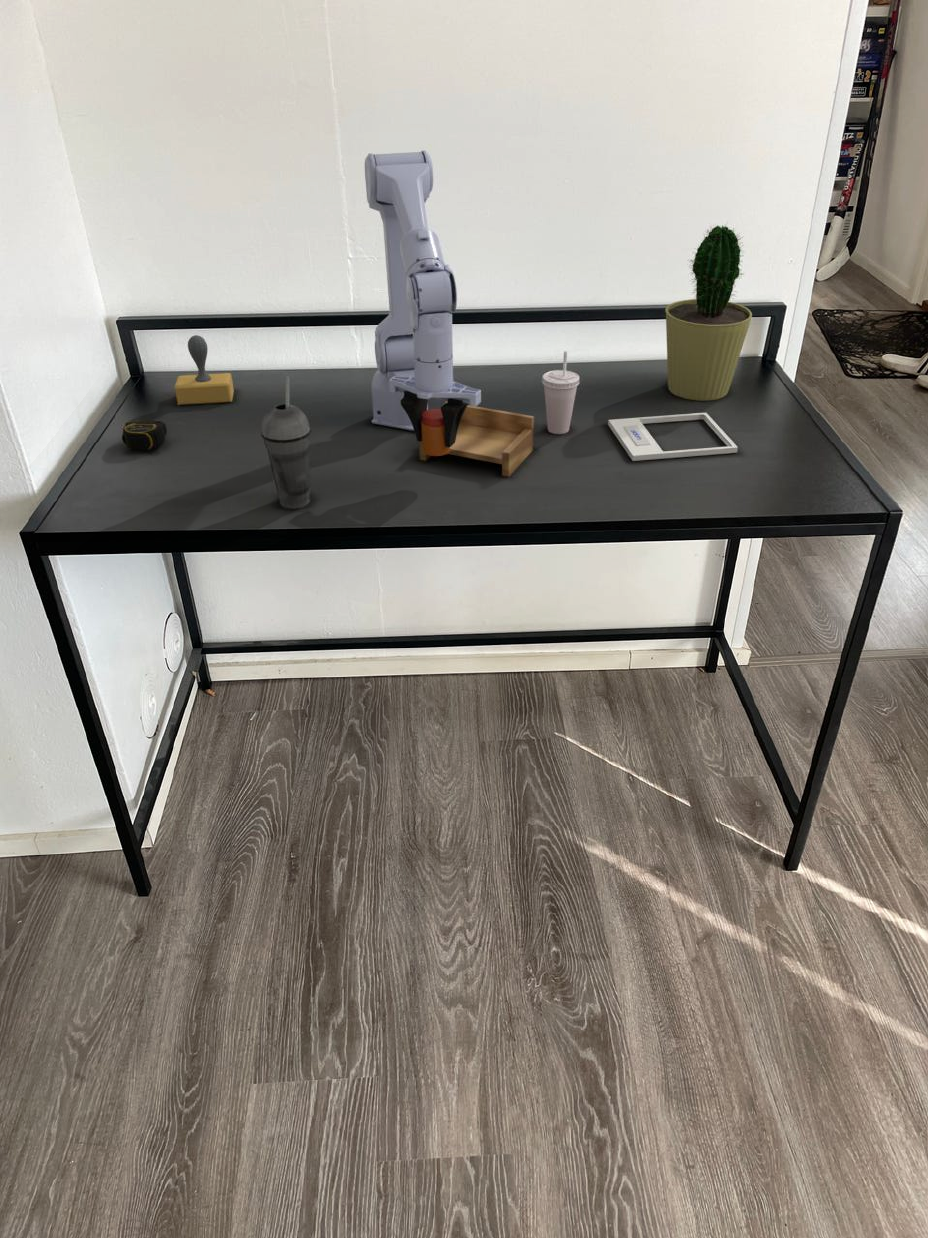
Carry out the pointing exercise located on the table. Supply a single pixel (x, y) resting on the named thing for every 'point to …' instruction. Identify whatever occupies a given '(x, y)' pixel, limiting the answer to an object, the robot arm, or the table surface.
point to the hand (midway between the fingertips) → (435, 441)
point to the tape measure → (144, 434)
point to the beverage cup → (288, 452)
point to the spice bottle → (433, 433)
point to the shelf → (493, 437)
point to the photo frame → (646, 447)
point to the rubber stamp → (203, 380)
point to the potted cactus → (707, 322)
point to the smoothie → (560, 397)
